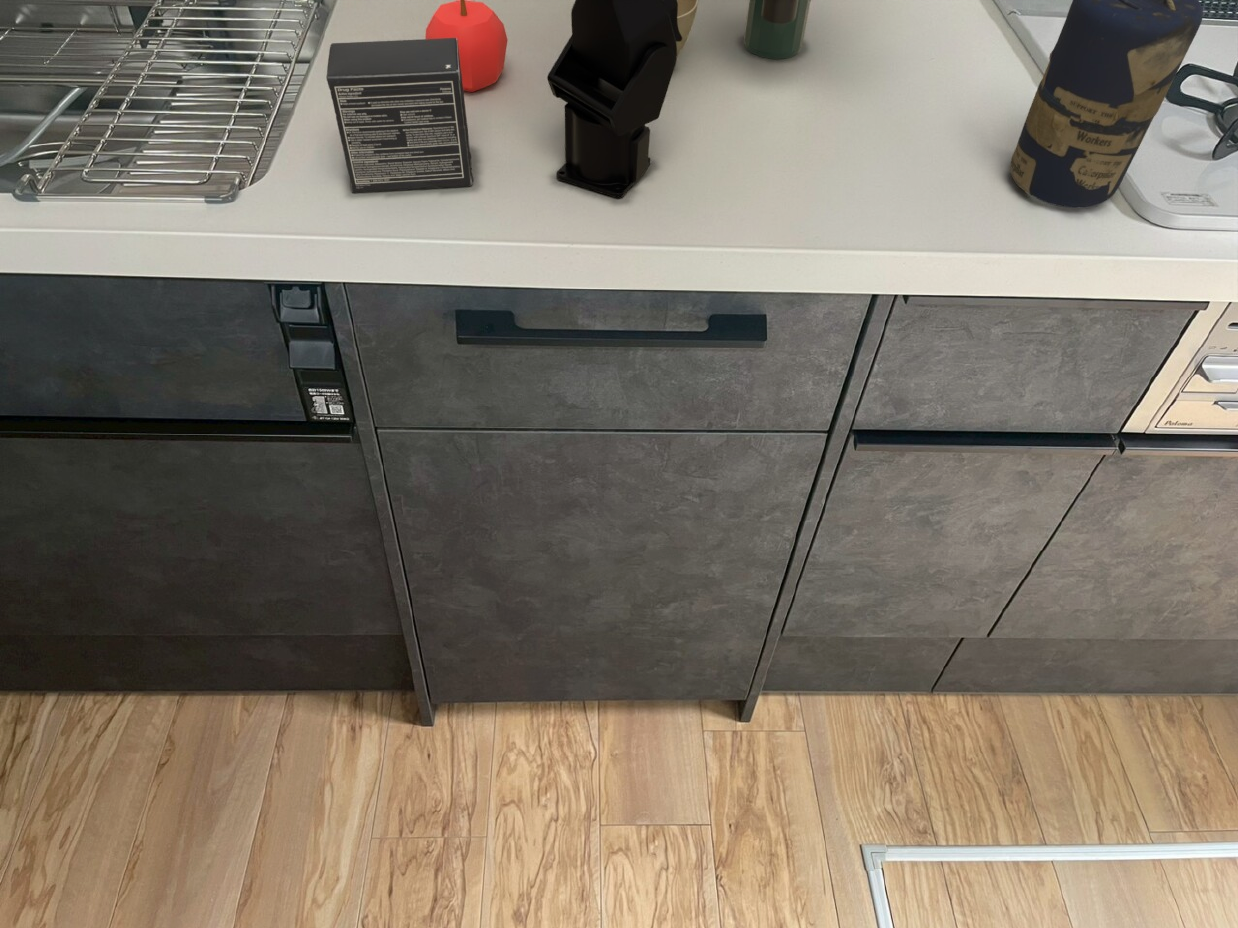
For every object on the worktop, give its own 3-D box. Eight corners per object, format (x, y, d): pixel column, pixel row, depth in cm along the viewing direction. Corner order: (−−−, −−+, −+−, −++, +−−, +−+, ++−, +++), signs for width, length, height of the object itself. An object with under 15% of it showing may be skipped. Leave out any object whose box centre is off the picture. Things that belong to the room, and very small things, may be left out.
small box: (471, 147, 86) (459, 33, 78) (474, 188, 82) (462, 72, 74) (352, 153, 85) (329, 38, 77) (350, 195, 81) (324, 78, 73)
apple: (475, 109, 90) (468, 26, 84) (412, 84, 93) (401, 1, 87) (526, 76, 95) (522, -5, 88) (464, 53, 97) (457, -28, 91)
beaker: (735, 50, 100) (742, -8, 95) (755, 26, 103) (763, -31, 99) (790, 64, 98) (800, 6, 93) (809, 40, 102) (820, -18, 97)
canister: (1034, 221, 81) (1127, 11, 68) (986, 161, 87) (1062, -44, 73) (1133, 211, 83) (1244, 4, 69) (1079, 152, 89) (1171, -50, 75)
